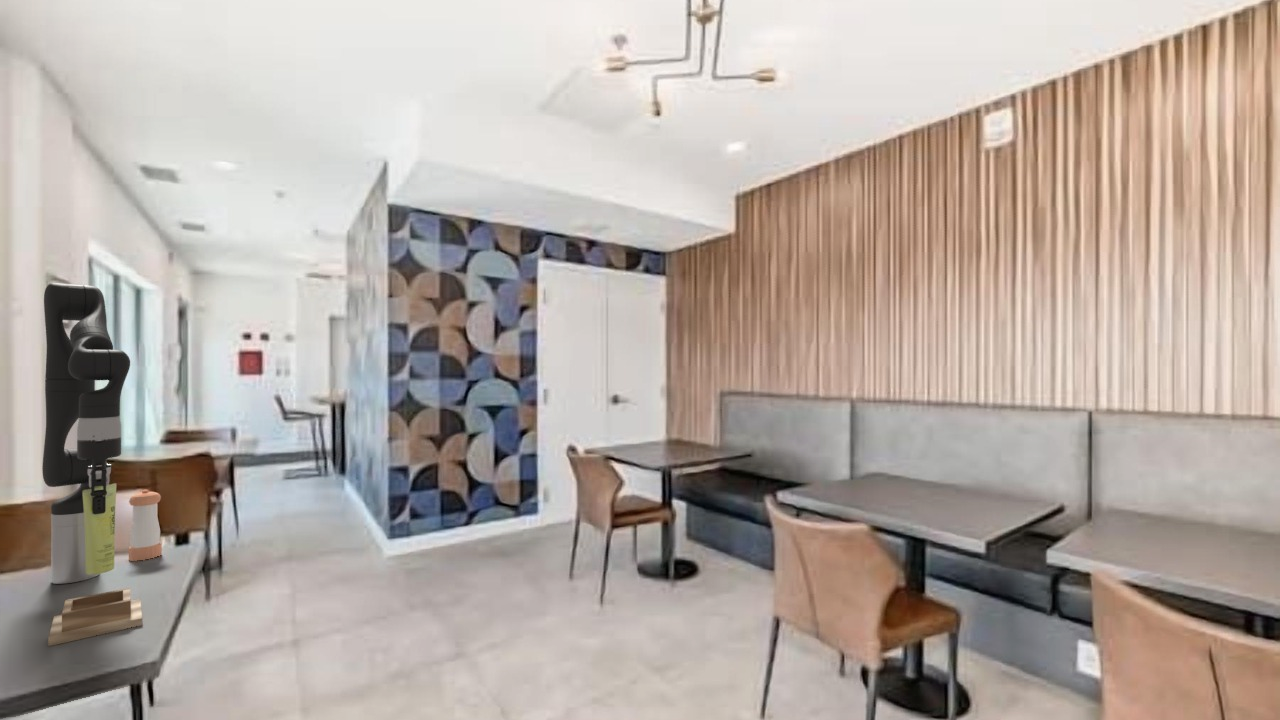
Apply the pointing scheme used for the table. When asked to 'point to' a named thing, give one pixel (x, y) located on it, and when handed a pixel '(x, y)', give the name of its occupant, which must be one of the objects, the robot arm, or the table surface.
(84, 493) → the tube
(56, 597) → the table surface
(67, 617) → the socket block
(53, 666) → the table surface
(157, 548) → the pepper shaker
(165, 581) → the table surface
